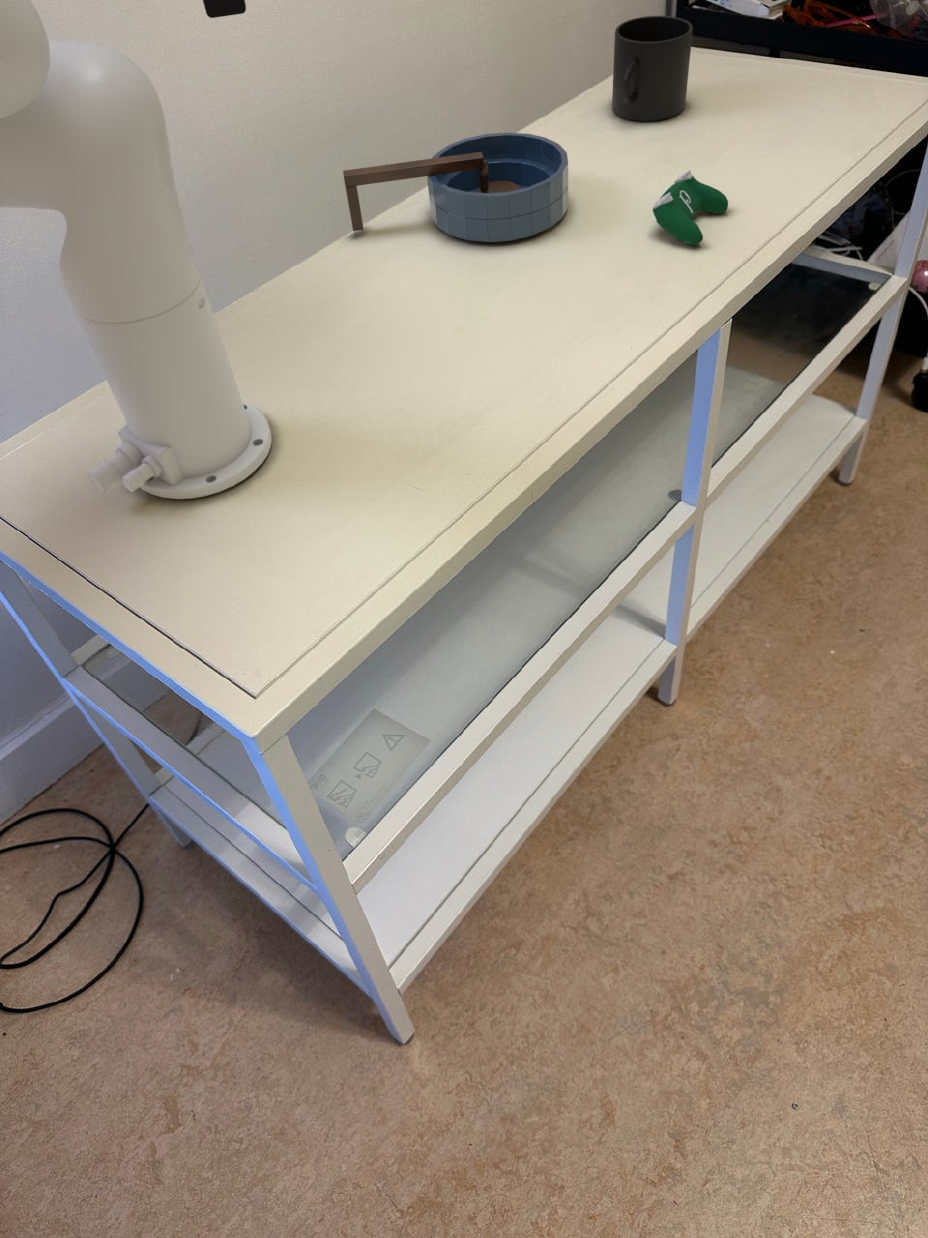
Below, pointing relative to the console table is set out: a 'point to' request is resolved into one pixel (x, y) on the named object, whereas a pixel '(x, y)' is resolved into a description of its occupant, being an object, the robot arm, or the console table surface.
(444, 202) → the bowl
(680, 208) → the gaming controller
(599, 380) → the console table surface
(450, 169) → the brown long handled part
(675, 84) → the mug
